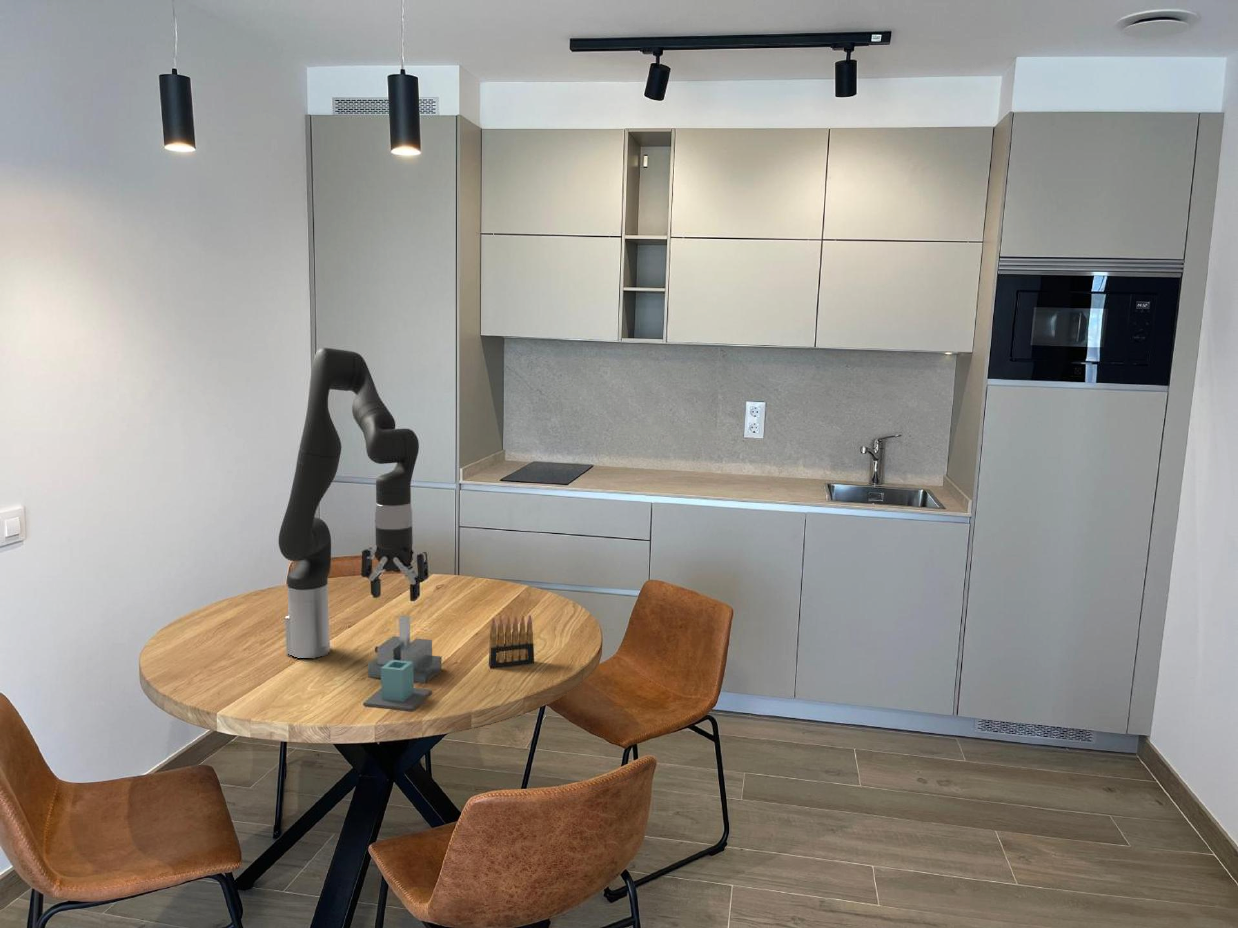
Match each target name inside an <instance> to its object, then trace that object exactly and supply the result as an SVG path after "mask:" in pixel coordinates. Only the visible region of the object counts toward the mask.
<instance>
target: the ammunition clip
mask: <svg viewBox="0 0 1238 928" xmlns="http://www.w3.org/2000/svg"><path fill="white" fill-rule="evenodd" d="M518 624H519V625H518ZM511 626H512V627H511ZM496 627H497V629H496ZM489 631H490V633H489V649H488V650H489V651H488V667H489V669H501V668H508V667H510V668H511V667H516V666H517V667H518V666H525V665H534V664H535V653H534V652H535V650H534V630H533V619H532V616H531V614H528V616H527V623H526V620H525V618H524V615H523V614H522V615H521V616H520V620H519V623H518V617H517V616H516V615H514V617H513V620H512V625H511V620H510V617H509V616H507V618H506V621H505V630H504V622H503V619H502V617H499V620H498V623H497V626H496V622H495V618H494V617H493V618H491V623H490V630H489ZM504 631H505V632H504Z"/></svg>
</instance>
